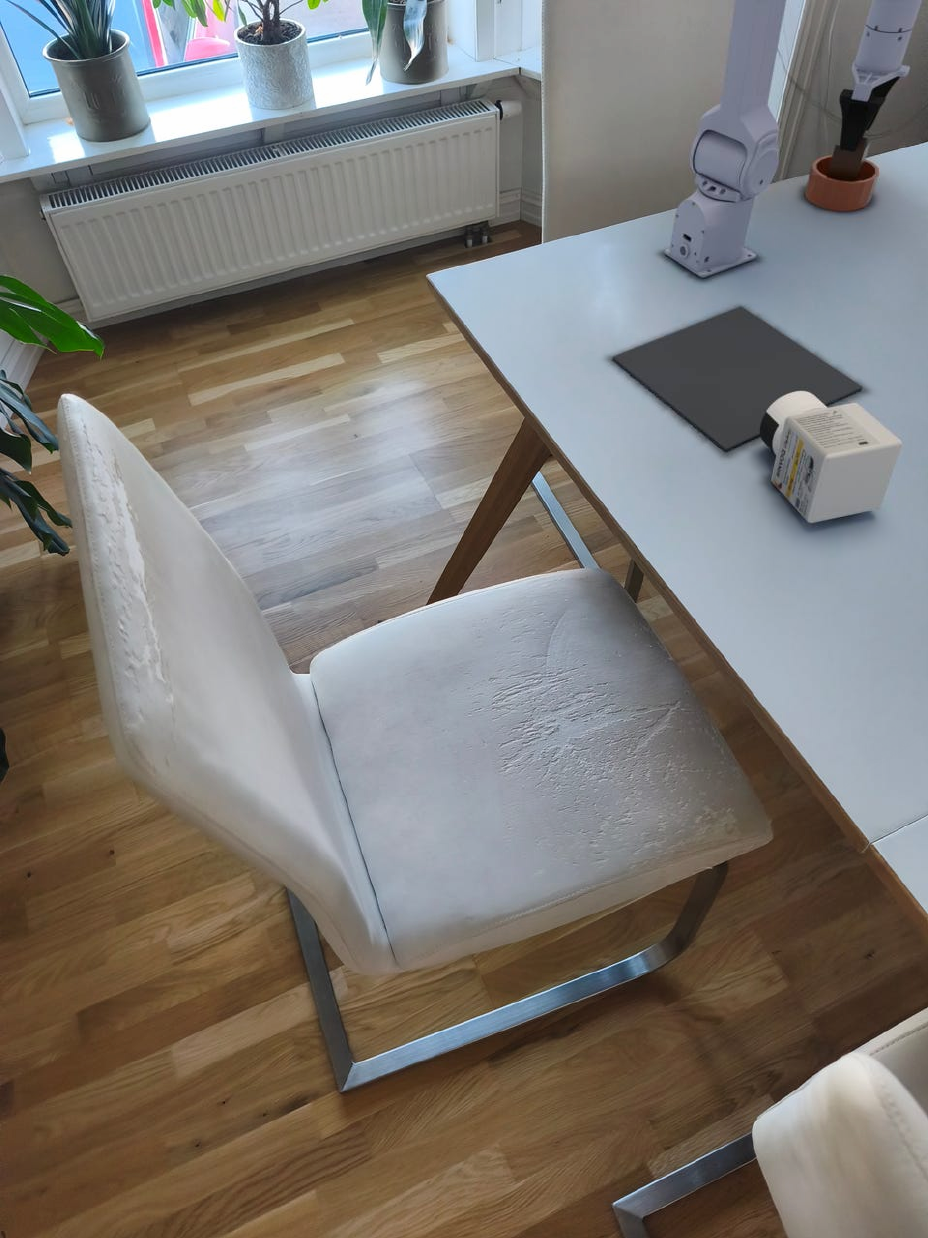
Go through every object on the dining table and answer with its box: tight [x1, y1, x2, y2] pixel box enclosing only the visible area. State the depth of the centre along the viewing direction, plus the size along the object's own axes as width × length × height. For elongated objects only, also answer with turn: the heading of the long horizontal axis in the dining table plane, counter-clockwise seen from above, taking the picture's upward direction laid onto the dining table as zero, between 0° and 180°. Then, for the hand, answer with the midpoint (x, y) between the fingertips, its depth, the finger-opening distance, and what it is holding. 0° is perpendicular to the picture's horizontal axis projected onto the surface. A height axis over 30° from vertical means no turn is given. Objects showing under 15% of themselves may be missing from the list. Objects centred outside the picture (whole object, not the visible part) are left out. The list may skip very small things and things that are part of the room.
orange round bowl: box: [804, 154, 880, 212], centre depth 123 cm, size 9×9×4 cm
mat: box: [611, 306, 863, 452], centre depth 99 cm, size 20×20×1 cm
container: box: [759, 391, 903, 524], centre depth 84 cm, size 8×8×13 cm
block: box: [827, 137, 873, 182], centre depth 122 cm, size 4×4×7 cm
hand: (854, 138), depth 119 cm, fingers open, 7 cm apart
